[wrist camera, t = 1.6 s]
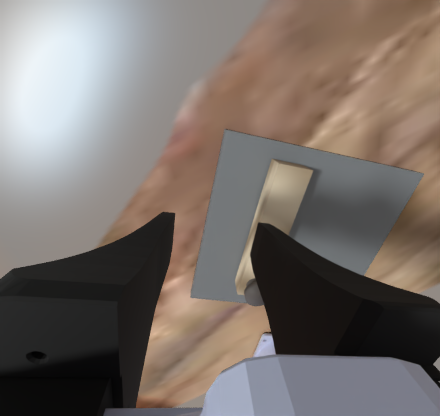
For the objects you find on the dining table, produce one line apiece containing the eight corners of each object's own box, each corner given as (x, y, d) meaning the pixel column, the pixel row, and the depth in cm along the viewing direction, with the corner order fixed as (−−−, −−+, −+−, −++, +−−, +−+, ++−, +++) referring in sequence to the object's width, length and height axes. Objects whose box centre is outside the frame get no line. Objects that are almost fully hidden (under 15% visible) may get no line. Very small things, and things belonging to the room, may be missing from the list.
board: (337, 306, 29) (341, 312, 28) (190, 291, 26) (190, 297, 25) (415, 171, 22) (424, 173, 21) (224, 128, 19) (225, 129, 18)
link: (259, 283, 25) (268, 308, 22) (234, 280, 24) (239, 306, 21) (303, 164, 19) (322, 175, 16) (271, 158, 19) (285, 167, 16)
